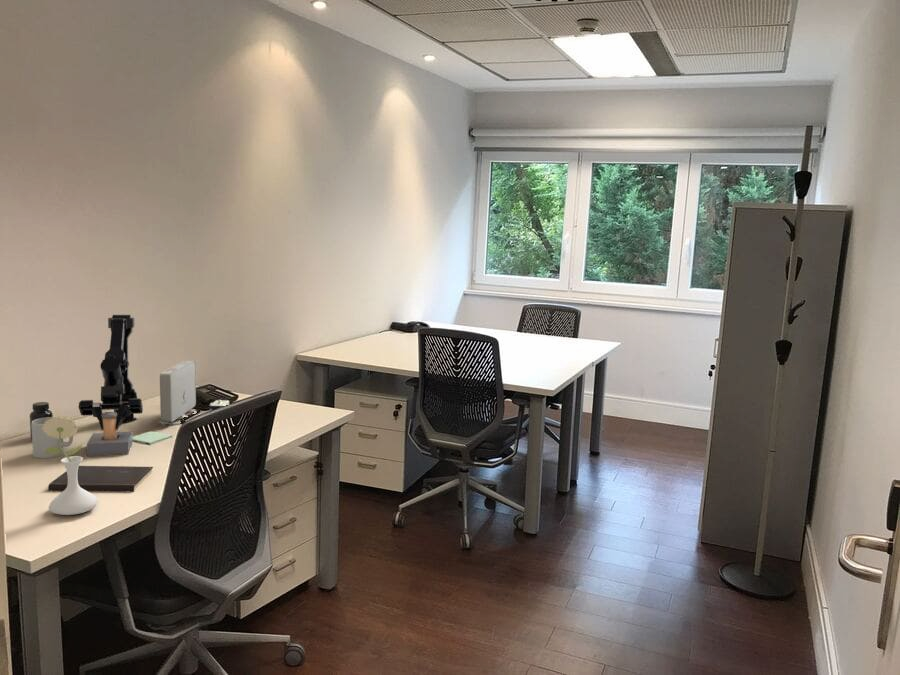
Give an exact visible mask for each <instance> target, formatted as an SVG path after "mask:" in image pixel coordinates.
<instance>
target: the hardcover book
mask: <svg viewBox="0 0 900 675" xmlns="http://www.w3.org/2000/svg"><path fill="white" fill-rule="evenodd" d="M153 468H154V467H153V466H129V465H126V466H124V465H123V466H121V465H112V466H111V465H108V466H107V465H79V467H78V474H77V479H78V485H79V486H80V487H81V488H82V489H84V490H86V491H88V492H121V491H123V492H126V491H130V492H132V493H133V492H135V490H136V489H137V488H138V487H139V486H140V485H141V484H142V483H143V482H144V481H146V479H147V478H149V476H150V475H151V474H152V473H153ZM151 472H152V473H151ZM149 474H150V475H149ZM67 485H68V476H67V471H66V470H65V472H63V473H62V474H60V475H59V476H58V477H57V478H55V479H54V480H53V481H51V482H50V483H49V484H48V486H47V488H48V490H47V491H48V492H50V491H51V490H52V492H55V491H56V492H59V491H60V492H63V491H64V490H65V489H66V488H67ZM130 492H129V493H130ZM126 493H127V492H126Z"/></svg>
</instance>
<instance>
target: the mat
mask: <svg viewBox="0 0 900 675" xmlns="http://www.w3.org/2000/svg"><path fill="white" fill-rule="evenodd" d="M170 438H173V435H172V434H167V433H163V432H157V431H151V430H150V431H147V432H143V433H141V434H137V435H134V436H133V442H135V441H137V443H141V442H142V444H146V443H148V444H147V445H152V444H156V443H159V442H162V441H165V440H168V439H170ZM164 439H165V440H164Z"/></svg>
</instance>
